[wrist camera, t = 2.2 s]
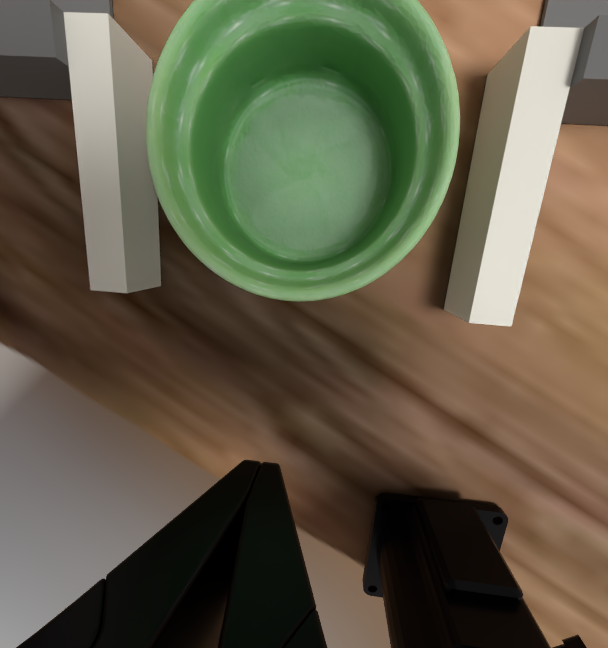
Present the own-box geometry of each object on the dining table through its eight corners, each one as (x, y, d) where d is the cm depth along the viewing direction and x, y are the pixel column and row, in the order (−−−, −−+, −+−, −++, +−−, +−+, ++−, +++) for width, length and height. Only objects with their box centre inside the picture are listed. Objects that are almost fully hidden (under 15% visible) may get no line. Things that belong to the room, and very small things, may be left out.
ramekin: (237, 305, 14) (198, 329, 10) (175, 95, 12) (96, 15, 8) (431, 260, 13) (480, 264, 9) (395, 20, 11) (435, -119, 7)
